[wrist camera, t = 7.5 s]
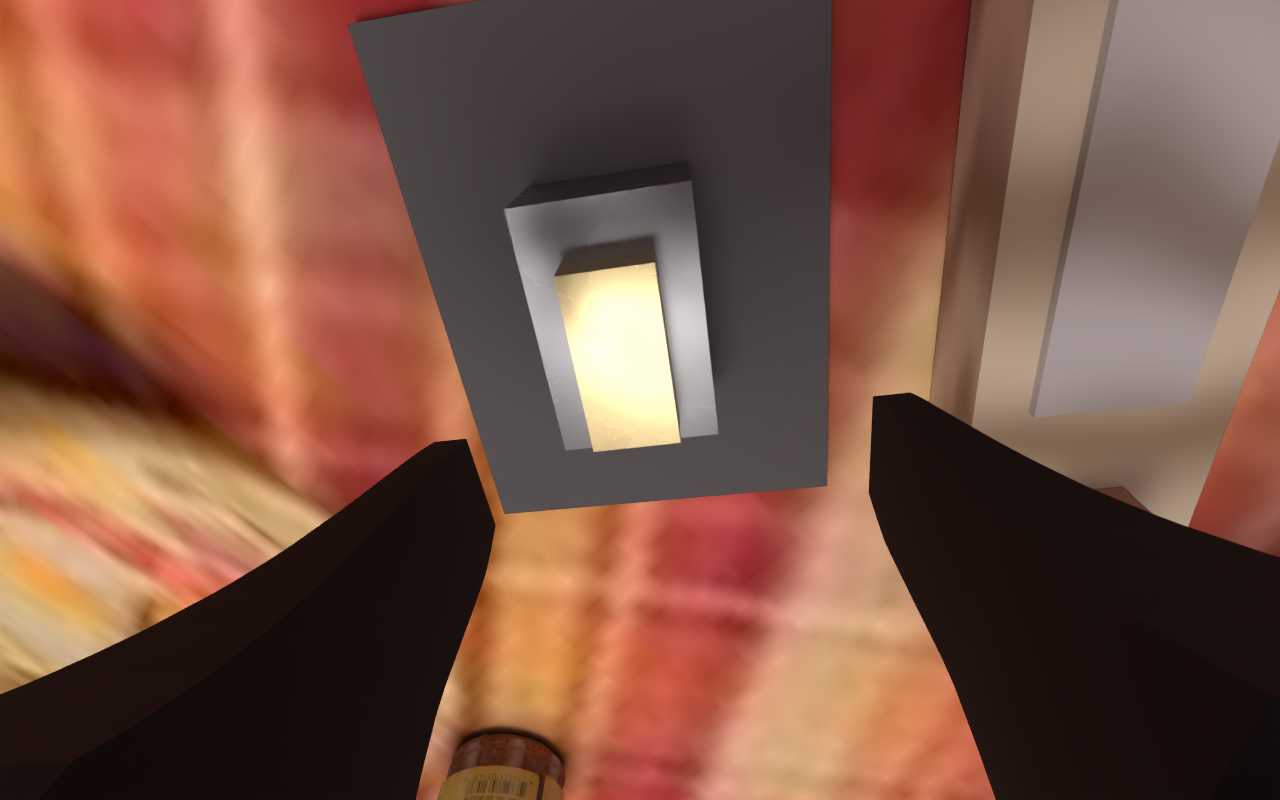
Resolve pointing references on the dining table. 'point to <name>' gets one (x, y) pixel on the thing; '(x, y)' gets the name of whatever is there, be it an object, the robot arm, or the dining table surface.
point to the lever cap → (618, 305)
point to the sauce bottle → (504, 770)
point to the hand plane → (1112, 235)
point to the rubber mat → (607, 143)
